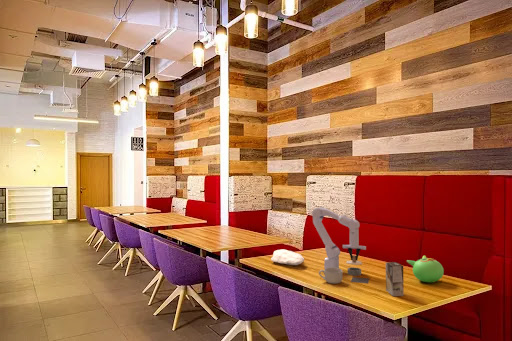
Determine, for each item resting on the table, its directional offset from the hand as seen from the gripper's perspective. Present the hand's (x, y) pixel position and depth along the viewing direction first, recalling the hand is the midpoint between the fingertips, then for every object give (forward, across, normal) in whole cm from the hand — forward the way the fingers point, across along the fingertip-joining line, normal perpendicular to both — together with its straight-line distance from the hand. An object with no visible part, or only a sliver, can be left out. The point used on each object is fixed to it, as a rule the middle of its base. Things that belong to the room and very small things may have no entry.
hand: (354, 260), depth 242 cm
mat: (+9, +5, -14) cm, 18 cm away
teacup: (+10, -11, -24) cm, 28 cm away
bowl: (+9, 0, 0) cm, 9 cm away
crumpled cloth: (+10, -48, +15) cm, 51 cm away
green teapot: (+10, +43, -1) cm, 44 cm away
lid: (+2, 0, 0) cm, 2 cm away
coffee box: (+10, +25, -32) cm, 42 cm away
